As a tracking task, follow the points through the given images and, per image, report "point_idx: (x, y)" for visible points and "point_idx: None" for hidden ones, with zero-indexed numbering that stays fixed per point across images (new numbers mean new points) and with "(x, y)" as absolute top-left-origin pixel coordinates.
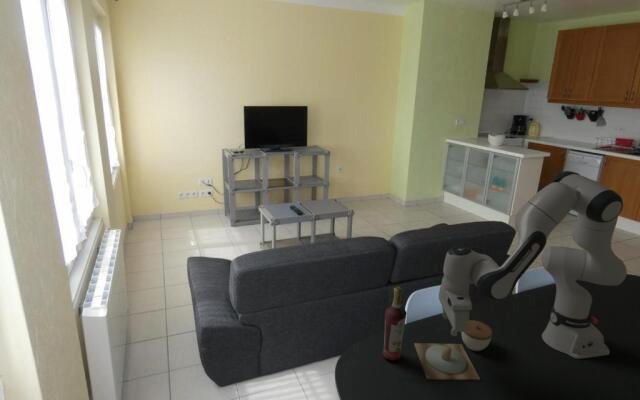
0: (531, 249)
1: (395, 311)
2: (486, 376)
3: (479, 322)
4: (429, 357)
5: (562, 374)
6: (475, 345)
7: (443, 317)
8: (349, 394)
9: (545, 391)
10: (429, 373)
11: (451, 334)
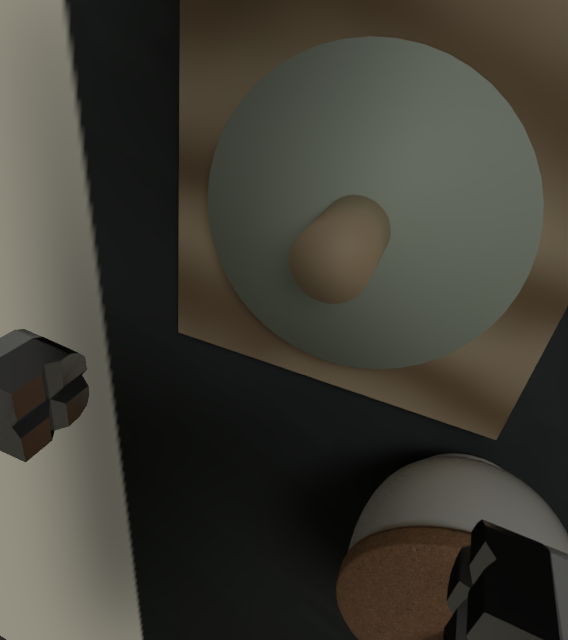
0: None
1: None
2: (211, 376)
3: None
4: (392, 77)
5: (215, 609)
6: (375, 493)
7: (503, 534)
8: None
9: (137, 506)
10: None
11: (28, 333)
